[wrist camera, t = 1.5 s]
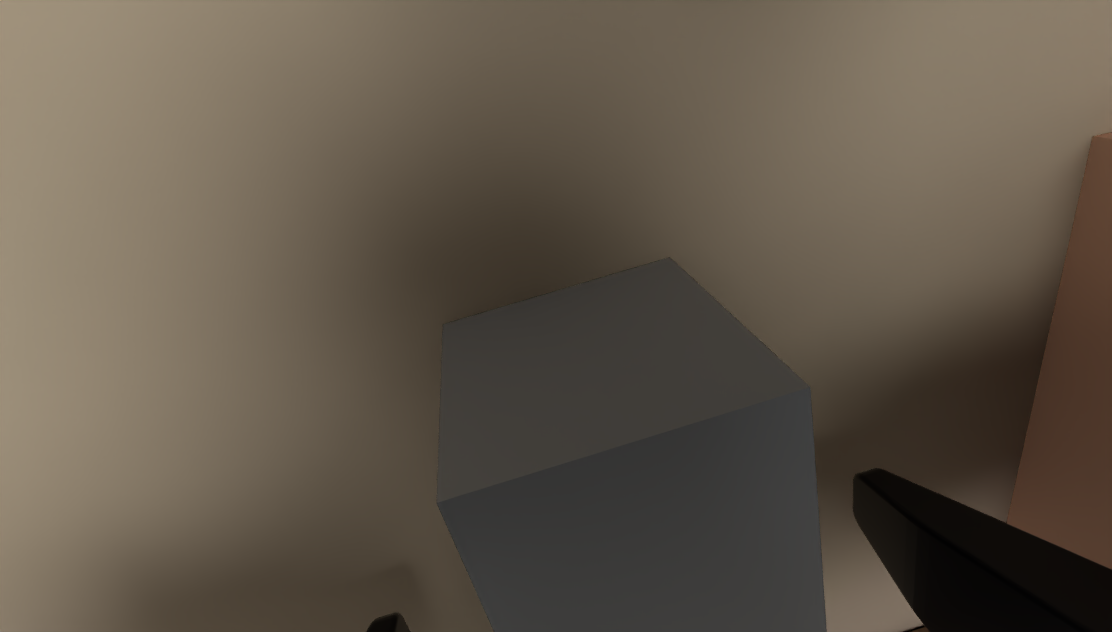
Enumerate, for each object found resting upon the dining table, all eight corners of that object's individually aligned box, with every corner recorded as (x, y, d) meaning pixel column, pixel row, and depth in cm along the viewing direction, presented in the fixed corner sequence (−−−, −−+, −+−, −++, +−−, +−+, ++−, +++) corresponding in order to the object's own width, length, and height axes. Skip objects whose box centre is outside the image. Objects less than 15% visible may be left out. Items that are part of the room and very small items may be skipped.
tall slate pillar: (442, 319, 9) (436, 502, 5) (665, 253, 9) (810, 386, 5) (578, 682, 13) (628, 933, 9) (731, 632, 13) (842, 858, 9)
